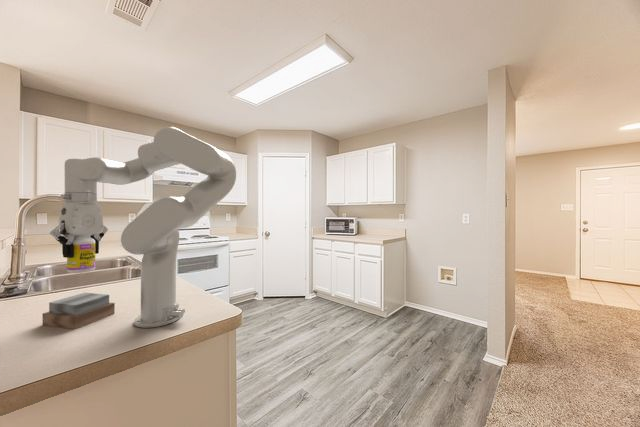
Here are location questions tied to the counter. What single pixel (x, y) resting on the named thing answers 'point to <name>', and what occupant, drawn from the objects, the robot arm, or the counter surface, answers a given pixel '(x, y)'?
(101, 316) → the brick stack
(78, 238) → the supplement bottle
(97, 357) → the counter surface
